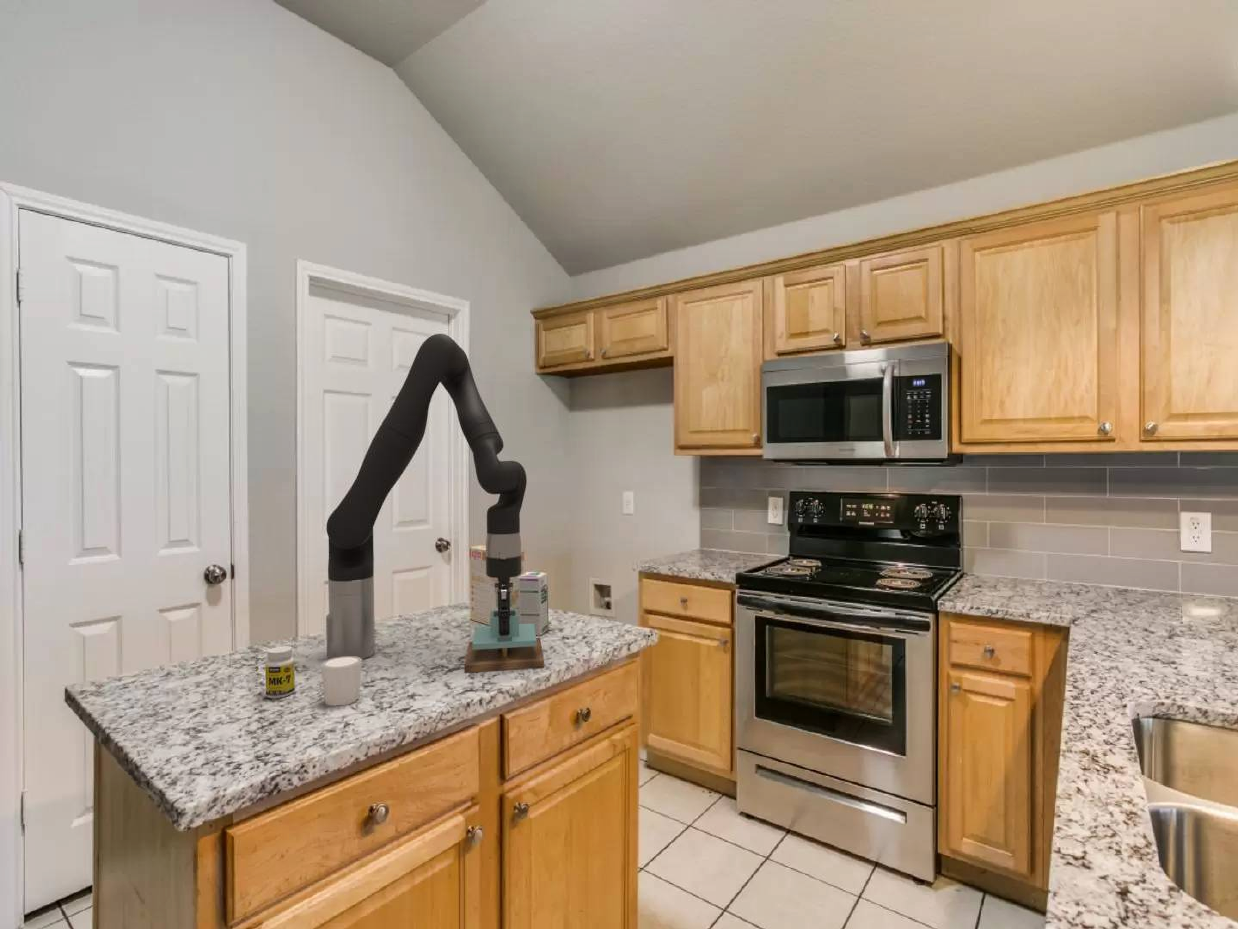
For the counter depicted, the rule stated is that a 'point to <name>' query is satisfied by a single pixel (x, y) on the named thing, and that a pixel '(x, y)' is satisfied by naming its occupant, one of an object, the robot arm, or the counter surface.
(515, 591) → the coffeecake box
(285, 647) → the supplement bottle
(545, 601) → the syrup box
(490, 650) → the post block
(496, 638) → the flange plate
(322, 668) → the white short cylinder
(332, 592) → the robot arm
